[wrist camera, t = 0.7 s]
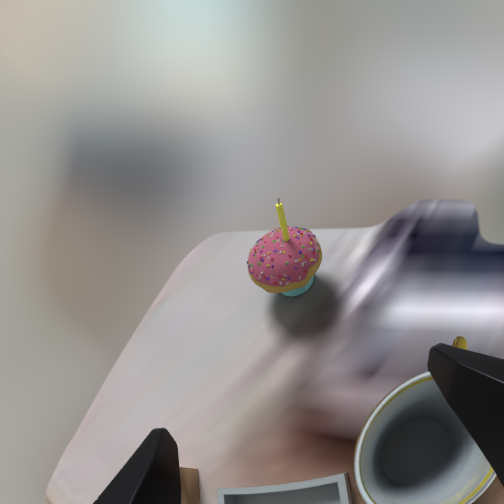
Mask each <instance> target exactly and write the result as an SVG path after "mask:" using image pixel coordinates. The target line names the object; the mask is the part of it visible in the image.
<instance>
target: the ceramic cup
mask: <svg viewBox="0 0 504 504" xmlns="http://www.w3.org/2000/svg"><path fill="white" fill-rule="evenodd" d="M452 346H454V347H457V348H461V349H465V350H467V342H466V339H465V338H464V337H461V336H458V337H456V338H455V340H454V343H453V345H452ZM353 473H354V479H355V484H356V487H357V489H358V492H359V494H360V496H361V498H362V499H363V501H364V502H365V504H472V503H473V502H474V501H475V500H476V499H478V498H479V497H480V496H481V495H482V494H483V493H484V491H485V490H486V489H487V488H488V487H489V486H490V484H491V483H492V481H493V480H494V479H495V477H496V473H495V472H494V470H493V469H492V467H491V465H490V464H489V462H488V461H487V459H486V458H485V456H484V455H483V453H482V452H481V450H480V449H479V447H478V446H477V444H476V443H475V441H474V440H473V438H472V437H471V435H470V434H469V432H468V431H467V429H466V428H465V427H464V425H463V424H462V422H461V421H460V420H459V418H458V417H457V415H456V414H455V413H454V411H453V410H452V408H451V407H450V406H449V404H448V403H447V401H446V400H445V398H444V396H443V395H442V393H441V391H440V389H439V388H438V386H437V384H436V382H435V381H434V379H433V377H432V376H431V374H430V372H429V371H428V372H425V373H422V374H419V375H417V376H414V377H412V378H410V379H408V380H407V381H405V382H403V383H402V384H400V385H399V386H397V387H396V388H395V389H393V390H392V391H391V392H390V393H388V394H387V395H386V396H385V397H384V398H383V399H382V400H381V401H380V402H379V403H378V405H377V406H376V407H375V408H374V410H373V411H372V412H371V414H370V415H369V417H368V418H367V420H366V422H365V424H364V426H363V428H362V429H361V432H360V434H359V437H358V439H357V443H356V447H355V451H354V459H353Z"/></svg>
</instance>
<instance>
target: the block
mask: <svg viewBox="0 0 504 504" xmlns="http://www.w3.org/2000/svg"><path fill="white" fill-rule="evenodd" d="M179 468H180V477H181V504H200V493H199V477H198V469H192V468H183V467H179Z"/></svg>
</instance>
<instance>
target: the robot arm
mask: <svg viewBox="0 0 504 504" xmlns="http://www.w3.org/2000/svg"><path fill="white" fill-rule="evenodd" d="M428 370H429V372H430V374H431V376H432V377H433V379H434V381H435V382H436V384H437V386H438V388H439V389H440V391H441V393H442V395H443V396H444V398H445V400H446V401H447V403H448V404H449V406H450V407H451V408H452V410H453V411H454V413H455V414H456V415H457V417H458V418H459V420H460V421H461V422H462V424H463V425H464V427H465V428H466V429H467V431H468V432H469V434H470V435H471V437H472V438H473V440H474V441H475V443H476V444H477V446H478V447H479V449H480V450H481V452H482V453H483V455H484V456H485V458H486V459H487V461H488V462H489V464H490V465H491V467H492V469H493V470H494V472H495V473H496V475H497V476H498V478H499V480H500V482H501V483H502V485H503V487H504V359H501V358H497V357H492V356H488V355H484V354H481V353H477V352H473V351H469V350H465V349H461V348H457V347H454V346H450V345H446V344H443V343H439V344H437V345H435V346H433V347H431V349H430V351H429V358H428ZM93 504H181V477H180V468H179V458H178V447H177V444H176V442H175V440H174V439H173V437H172V436H171V435H170V433H169V432H168V430H167V429H165V428H156V429H153V430H152V431H151V432H150V433H149V435H148V436H147V437H146V439H145V440H144V441H143V442H142V444H141V445H140V446H139V447H138V449H137V450H136V451H135V453H134V454H133V455H132V456H131V458H130V459H129V460H128V461H127V463H126V464H125V465H124V466H123V468H122V469H121V470H120V471H119V473H118V474H117V475H116V476H115V477H114V479H113V480H112V481H111V482H110V484H109V485H108V486H107V487H106V489H105V490H104V491H103V492H102V493H101V495H100V496H99V497H98V500H95V502H94V503H93Z"/></svg>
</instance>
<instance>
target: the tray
mask: <svg viewBox="0 0 504 504" xmlns="http://www.w3.org/2000/svg"><path fill="white" fill-rule="evenodd" d="M217 495H218V504H352V498H351V492H350V486H349V480H348V475H347V472H345V473H341V474H336V475H332V476H327V477H322V478H317V479H312V480H306V481H300V482H294V483H286V484H278V485H269V486H257V487H241V488H222V489H217Z"/></svg>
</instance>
